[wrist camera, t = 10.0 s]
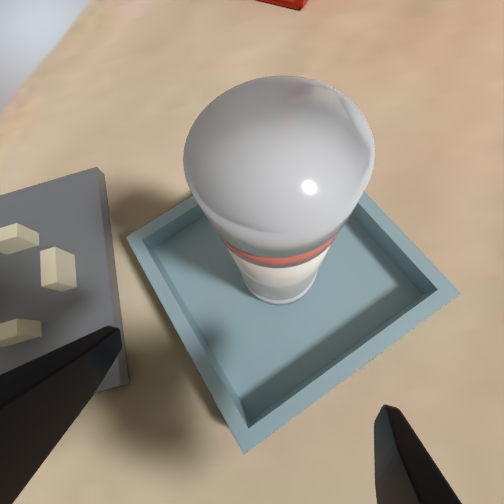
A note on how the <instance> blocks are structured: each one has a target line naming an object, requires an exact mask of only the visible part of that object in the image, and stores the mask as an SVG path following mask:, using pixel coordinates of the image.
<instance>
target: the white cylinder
mask: <svg viewBox="0 0 504 504" xmlns="http://www.w3.org/2000/svg"><path fill="white" fill-rule="evenodd" d="M374 161H375V146H374V139H373V135H372V132H371V129H370V126H369V124H368V122H367V120H366V118H365V117H364V115H363V114H362V112H361V111H360V110H359V108H358V107H357V106H356V105H355V104H354V103H353V102H352V101H351V100H350V99H349V98H347V97H346V96H345V95H344V94H342V93H341V92H339V91H338V90H336V89H334V88H332V87H330V86H328V85H326V84H324V83H321V82H318V81H315V80H312V79H307V78H303V77H295V76H271V77H264V78H259V79H255V80H251V81H248V82H245V83H242V84H240V85H237V86H235V87H233V88H231V89H229V90H228V91H226V92H224V93H223V94H221V95H220V96H218V97H217V98H216V99H215V100H213V101H212V102H211V103H210V104H209V105H208V106H207V107H206V108H205V109H204V110H203V111H202V112H201V113H200V115H199V116H198V117H197V119H196V120H195V122H194V124H193V126H192V127H191V129H190V132H189V134H188V137H187V139H186V143H185V148H184V156H183V162H184V172H185V177H186V180H187V183H188V186H189V188H190V190H191V192H192V194H193V195H194V197H195V199H196V201H197V202H198V204H199V206H200V207H201V209H202V211H203V213H204V214H205V216H206V218H207V219H208V221H209V223H210V224H211V226H212V227H213V229H214V230H215V231H216V232H217V234H218V235H219V237H220V238H221V240H222V241H223V243H224V244H225V245H226V247H227V248H228V250H229V252H230V254H231V255H232V257H233V259H234V261H235V263H236V264H237V266H238V268H239V270H240V272H241V275H242V278H243V280H244V282H245V284H246V286H247V287H248V289H249V291H250V292H251V293H252V294H253V295H254V296H255V297H256V298H257V299H259V300H260V301H262V302H264V303H266V304H270V305H275V306H283V305H289V304H292V303H294V302H296V301H298V300H300V299H301V298H302V297H303V296H304V295H305V294H306V293H307V292H308V291H309V289H310V288H311V286H312V284H313V282H314V280H315V278H316V275H317V270H318V269H319V267H320V265H321V263H322V261H323V259H324V257H325V255H326V253H327V251H328V249H329V247H330V245H331V244H332V243H333V241H334V240H335V238H336V237H337V235H338V233H339V232H340V230H341V229H342V228H343V226H344V225H345V223H346V222H347V221H348V219H349V217H350V215H351V213H352V212H353V210H354V208H355V206H356V204H357V202H358V201H359V199H360V197H361V195H362V193H363V192H364V190H365V188H366V186H367V184H368V182H369V180H370V177H371V174H372V171H373V166H374Z"/></svg>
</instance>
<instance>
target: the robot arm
mask: <svg viewBox="0 0 504 504" xmlns="http://www.w3.org/2000/svg"><path fill="white" fill-rule="evenodd" d="M121 349H122V337H121V331H120V329H119V328H118V327H114V326H110V325H108V326H105V327H103V328H101V329H99V330H96V331H94V332H92V333H90V334H88V335H86V336H83V337H81V338H79V339H77V340H75V341H73V342H70V343H68V344H66V345H64V346H62V347H60V348H57V349H55V350H53V351H51V352H49V353H46V354H44V355H42V356H40V357H38V358H36V359H33V360H31V361H29V362H27V363H25V364H23V365H20V366H18V367H16V368H14V369H12V370H10V371H7V372H5V373H3V374H1V375H0V504H12V503H13V502H14V501H15V499H16V498H17V497H18V495H19V494H20V493H21V491H22V490H23V489H24V487H25V486H26V485H27V483H28V482H29V481H30V479H31V478H32V477H33V475H34V474H35V473H36V471H37V470H38V469H39V467H40V466H41V464H42V463H43V462H44V460H45V459H46V458H47V456H48V455H49V454H50V452H51V451H52V450H53V448H54V447H55V446H56V444H57V443H58V442H59V440H60V439H61V438H62V436H63V435H64V434H65V432H66V431H67V430H68V428H69V427H70V426H71V424H72V423H73V422H74V420H75V419H76V418H77V416H78V415H79V413H80V412H81V411H82V409H83V408H84V407H85V405H86V404H87V403H88V401H89V400H90V399H91V397H92V396H93V395H94V393H95V392H96V390H97V389H98V387H99V386H100V384H101V382H102V381H103V379H104V378H105V376H106V374H107V373H108V371H109V369H110V368H111V366H112V364H113V363H114V361H115V359H116V358H117V356H118V355H119V353H120V351H121ZM374 457H375V487H376V497H377V504H462V503H461V502H460V500H459V499H458V497H457V496H456V494H455V493H454V491H453V490H452V488H451V487H450V485H449V483H448V482H447V480H446V479H445V477H444V476H443V474H442V473H441V471H440V470H439V468H438V467H437V465H436V464H435V462H434V461H433V459H432V458H431V456H430V455H429V453H428V452H427V450H426V449H425V447H424V446H423V444H422V443H421V441H420V439H419V438H418V436H417V435H416V433H415V432H414V430H413V429H412V427H411V426H410V424H409V423H408V421H407V420H406V418H405V417H404V415H403V414H402V412H401V411H400V410H399V409H398V408H396V407H393V406H389V405H383V407H382V408H381V410H380V412H379V414H378V416H377V418H376V420H375V423H374Z"/></svg>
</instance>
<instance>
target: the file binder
mask: <svg viewBox="0 0 504 504" xmlns="http://www.w3.org/2000/svg"><path fill="white" fill-rule="evenodd" d="M259 1H263V2H267V3H271V4H276V5H280V6H284V7H289V8H293V9H297V10H298V9H299V8H303V7H304V6H305V4H306V2H307V1H308V0H259Z"/></svg>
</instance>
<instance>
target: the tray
mask: <svg viewBox="0 0 504 504" xmlns="http://www.w3.org/2000/svg"><path fill="white" fill-rule="evenodd" d="M126 239H127V241H128V242H129V244H130V246H131V248H132V250H133V252H134V253H135V255H136V257H137V259H138V261H139V263H140V264H141V266H142V268H143V270H144V272H145V274H146V276H147V277H148V279H149V281H150V283H151V285H152V287H153V288H154V290H155V292H156V294H157V296H158V298H159V299H160V301H161V303H162V305H163V307H164V309H165V311H166V312H167V314H168V316H169V318H170V320H171V322H172V323H173V325H174V327H175V329H176V331H177V333H178V334H179V336H180V338H181V340H182V342H183V344H184V346H185V347H186V349H187V351H188V353H189V355H190V357H191V358H192V360H193V362H194V364H195V366H196V368H197V369H198V371H199V373H200V375H201V377H202V379H203V381H204V382H205V384H206V386H207V388H208V390H209V392H210V393H211V395H212V397H213V399H214V401H215V403H216V404H217V406H218V408H219V410H220V412H221V414H222V416H223V417H224V419H225V421H226V423H227V425H228V427H229V428H230V430H231V432H232V434H233V436H234V438H235V439H236V441H237V443H238V445H239V447H240V449H241V451H242V452H243V454H245V453H247V452H248V451H249V450H251V449H252V448H253V447H255V446H256V445H257V444H259V443H260V442H261V441H263V440H264V439H266V438H267V437H268V436H270V435H271V434H272V433H274V432H275V431H276V430H278V429H279V428H280V427H282V426H283V425H284V424H286V423H287V422H288V421H290V420H291V419H292V418H294V417H295V416H296V415H298V414H299V413H301V412H302V411H303V410H305V409H306V408H307V407H309V406H310V405H311V404H313V403H314V402H315V401H317V400H318V399H319V398H321V397H322V396H323V395H325V394H326V393H327V392H329V391H330V390H331V389H333V388H334V387H335V386H337V385H338V384H340V383H341V382H342V381H344V380H345V379H346V378H348V377H349V376H350V375H352V374H353V373H354V372H356V371H357V370H358V369H360V368H361V367H362V366H364V365H365V364H366V363H368V362H369V361H370V360H372V359H373V358H374V357H376V356H377V355H379V354H380V353H381V352H383V351H384V350H385V349H387V348H388V347H389V346H391V345H392V344H393V343H395V342H396V341H397V340H399V339H400V338H401V337H403V336H404V335H405V334H407V333H408V332H409V331H411V330H412V329H413V328H415V327H416V326H418V325H419V324H420V323H422V322H423V321H424V320H426V319H427V318H428V317H430V316H431V315H432V314H434V313H435V312H436V311H438V310H439V309H440V308H442V307H443V306H444V305H446V304H447V303H448V302H450V301H451V300H452V299H454V298H455V297H457V296H458V295H459V294H461V293H460V292H459V291H458V290H457V289H456V288H455V287H454V286H453V285H452V284H451V283H450V282H449V280H448V279H447V278H446V277H445V276H444V275H443V274H442V273H441V272H440V271H439V270H438V269H437V268H436V267H435V266H434V265H433V264H432V262H431V261H430V260H429V259H428V258H427V257H426V256H425V255H424V254H423V253H422V252H421V251H420V250H419V249H418V248H417V247H416V246H415V245H414V243H413V242H412V241H411V240H410V239H409V238H408V237H407V236H406V235H405V234H404V233H403V232H402V231H401V230H400V229H399V228H398V227H397V225H396V224H395V223H394V222H393V221H392V220H391V219H390V218H389V217H388V216H387V215H386V214H385V213H384V212H383V211H382V210H381V209H380V208H379V206H378V205H377V204H376V203H375V202H374V201H373V200H372V199H371V198H370V197H369V196H368V195H367V194H366V193H365V192H363V193H362V195H361V197H360V199H359V201H358V202H357V204H356V206H355V208H354V210H353V212H352V213H351V215H350V217H349V219H348V221H347V222H346V223H345V225H344V226H343V228H342V229H341V230H340V232H339V233H338V235H337V237H336V238H335V240H334V241H333V243H332V244H331V245H330V247H329V249H328V251H327V253H326V255H325V257H324V259H323V261H322V263H321V265H320V267H319V269H318V270H317V275H316V278H315V280H314V282H313V284H312V286H311V288H310V289H309V291H308V292H307V293H306V294H305V295H304V296H303V297H302V298H301V299H300V300H298V301H296V302H294V303H292V304H289V305H283V306H275V305H270V304H266V303H264V302H262V301H260V300H259V299H257V298H256V297H255V296H254V295H253V294H252V293H251V292H250V291H249V289H248V287H247V286H246V284H245V282H244V280H243V278H242V275H241V272H240V270H239V268H238V266H237V264H236V263H235V261H234V259H233V257H232V255H231V254H230V252H229V250H228V248H227V247H226V245H225V244H224V243H223V241H222V240H221V238H220V237H219V235H218V234H217V232H216V231H215V230H214V229H213V227H212V226H211V224H210V223H209V221H208V219H207V218H206V216H205V214H204V213H203V211H202V209H201V207H200V206H199V204H198V202H197V201H196V199H195V197H194V195H192V196H191V197H189V198H188V199H186V200H184V201H183V202H181V203H180V204H178V205H176V206H175V207H173V208H172V209H170V210H168V211H167V212H165V213H164V214H162V215H160V216H159V217H157V218H156V219H154V220H152V221H151V222H149V223H148V224H146V225H144V226H143V227H141V228H140V229H138V230H136V231H135V232H133V233H132V234H130V235H128V236H127V237H126Z"/></svg>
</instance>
